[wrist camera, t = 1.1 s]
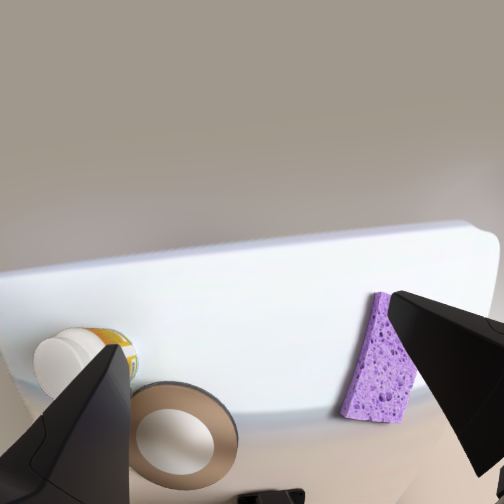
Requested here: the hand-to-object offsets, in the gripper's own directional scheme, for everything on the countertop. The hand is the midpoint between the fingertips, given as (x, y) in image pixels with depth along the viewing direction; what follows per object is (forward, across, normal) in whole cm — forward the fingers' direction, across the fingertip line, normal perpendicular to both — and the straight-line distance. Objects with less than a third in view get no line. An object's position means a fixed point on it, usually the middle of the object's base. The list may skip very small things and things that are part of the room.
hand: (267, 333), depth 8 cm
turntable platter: (+7, +7, +17) cm, 20 cm away
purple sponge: (+9, -14, +15) cm, 23 cm away
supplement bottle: (+12, +11, +11) cm, 20 cm away
